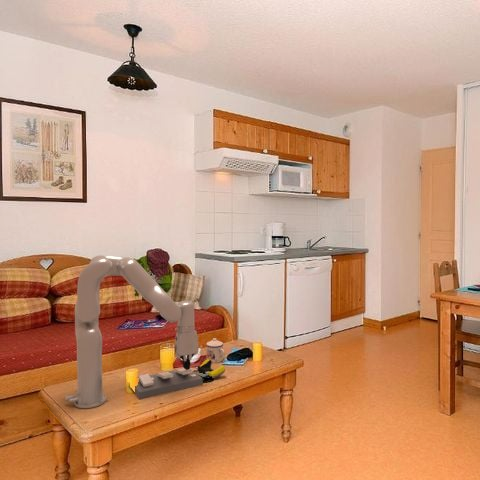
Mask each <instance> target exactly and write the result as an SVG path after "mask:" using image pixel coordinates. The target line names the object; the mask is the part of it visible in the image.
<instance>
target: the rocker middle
mask: <svg viewBox="0 0 480 480" xmlns="http://www.w3.org/2000/svg"><path fill="white" fill-rule="evenodd" d="M155 374H156V375H157V376H159V377H161V378H163V379H165V378H170V377H173V374H172V373H169V372H168V371H167V370H162V371H157V372H155Z"/></svg>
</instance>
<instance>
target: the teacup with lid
mask: <svg viewBox="0 0 480 480" xmlns="http://www.w3.org/2000/svg"><path fill="white" fill-rule="evenodd" d="M205 346H206V360H208V359H209V360H211V361H212V363H213V364H215V363H216V364H217V363H220V362H223V361H224V358H225V354H226V353H225V350H224V348H223V347H224V343H223V342H222V341H220V340H217V337H214V338H212V340H209V341H207V342H206V344H205Z"/></svg>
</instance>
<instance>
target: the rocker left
mask: <svg viewBox="0 0 480 480" xmlns="http://www.w3.org/2000/svg"><path fill="white" fill-rule="evenodd" d="M137 373H138V376H137V378H139V380H140V382H141V383H142V385H143V387H145V386H150V385H154V382H153V380H152V379H151V377H150V376H149V375H150V374H149V372H148V371H147V370H144V371H138V372H137Z"/></svg>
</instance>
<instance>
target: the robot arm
mask: <svg viewBox="0 0 480 480" xmlns="http://www.w3.org/2000/svg"><path fill="white" fill-rule="evenodd" d="M108 276H112V277H113V276H114V277H122V278H124V279H125V280H126V281H127V282H128V283H129V285H130V286H131V287H132V288H133V289H134V290H135V291H136V292H137V293H138V294H139V295H140V296H141V297H142V298H143V299H144V300H145V301H147V302H148V303H149V304H151V305H152V306H153V307H154V308H155V309H156V310H157V311H158V312H159V314H160V316H161V317H162V318H163V319H164V320H165V321H167V322H169V323H171V324H173V323H174V324H175V323H177V326H176V327H175V328H174V331H176V332H175V339H174V353H175V355H174V358H176V359H181V360H182V367H183V368H184V369H186V370H189V369H191V361H192V359H193V357H194V356H196V355H198V354H199V337H198V332H197V330H195V303H194V302H193V301H190V300H182V301H174V300H173V299H172V298H171V297H170V295H168V293H167V292H166V291H165V290H164V289H163V288H162V287H161V286H160V285H159V284H158V283H157V281H156V280H155V279H154V278H153V277H152V275H150V273H148V272H147V271H146V269H144V267H143V266H142V265H141V263H139V262H138V261H137V260H136V259H134V258H132V257H125V256H114V255H113V256H111V255H101V254H100V255H95V256H94V257H92V258H91V260H90V261H89V263H88V264H87V265H86V266H85V267H84V268H83V269H82V271H81V273H79V276H78V279H77V292H76V293H77V294H76V298H77V299H76V300H77V301H76V303H75V306H74V331H75V334H74V335H75V340H76V368H77V369H76V370H77V372H76V373H77V390H76V391H75V393H73V394H72V395H66V396H65V397H64V399H65V402H69V403H73V405H74V406H75V407H76V408H78V409H91V408H96V407H100V406H101V405H103V404H105V403H106V401H107V398H108V397H107V395H106V394H105V393H104V391H103V356H102V355H103V334H102V332H101V329H100V327H99V325H100V324H99V323H100V322H99V317H100V314H101V301H100V300H101V299H100V297H101V296H100V294H101V293H100V289H101V288H100V287H101V282H103V280H104V279H105V278H106V277H108Z"/></svg>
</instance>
